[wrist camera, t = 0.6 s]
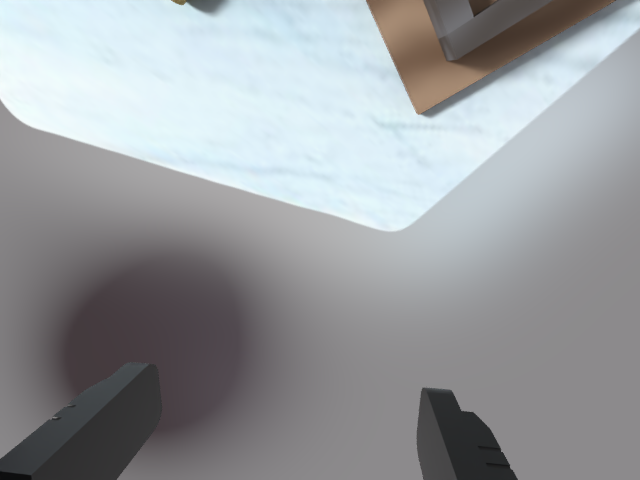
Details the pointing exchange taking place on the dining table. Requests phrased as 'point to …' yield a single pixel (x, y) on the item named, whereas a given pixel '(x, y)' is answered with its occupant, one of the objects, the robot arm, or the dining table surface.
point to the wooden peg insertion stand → (466, 38)
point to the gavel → (180, 1)
